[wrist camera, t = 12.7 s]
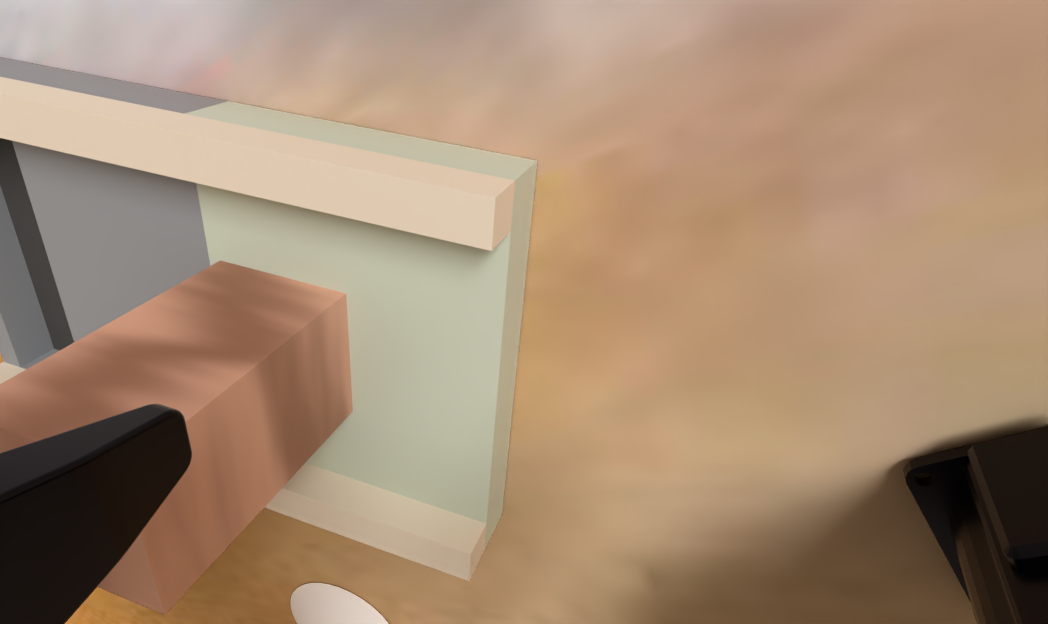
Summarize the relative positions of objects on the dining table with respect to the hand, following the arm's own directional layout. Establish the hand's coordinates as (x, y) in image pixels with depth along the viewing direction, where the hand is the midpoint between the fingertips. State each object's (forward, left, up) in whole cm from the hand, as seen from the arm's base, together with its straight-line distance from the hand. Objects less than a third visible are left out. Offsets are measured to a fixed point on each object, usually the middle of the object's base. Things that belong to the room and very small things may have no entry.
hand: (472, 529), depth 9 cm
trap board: (+5, +16, -13) cm, 21 cm away
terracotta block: (+2, +13, -11) cm, 17 cm away
